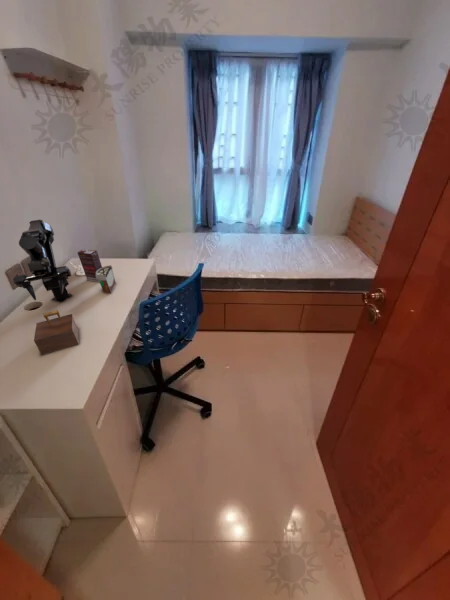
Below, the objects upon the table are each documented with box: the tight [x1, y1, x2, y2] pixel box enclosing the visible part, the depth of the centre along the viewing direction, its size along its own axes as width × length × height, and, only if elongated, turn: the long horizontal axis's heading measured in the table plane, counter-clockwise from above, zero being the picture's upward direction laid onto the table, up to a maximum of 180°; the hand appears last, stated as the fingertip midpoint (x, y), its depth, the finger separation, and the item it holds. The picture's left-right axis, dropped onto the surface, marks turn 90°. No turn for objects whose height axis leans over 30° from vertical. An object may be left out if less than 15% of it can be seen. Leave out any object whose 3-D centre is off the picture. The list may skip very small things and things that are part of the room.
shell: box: [69, 255, 86, 276], centre depth 153 cm, size 9×12×9 cm
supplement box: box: [76, 248, 103, 283], centre depth 144 cm, size 9×5×16 cm, turn 71°
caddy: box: [34, 317, 80, 356], centre depth 105 cm, size 10×12×6 cm
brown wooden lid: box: [33, 309, 74, 343], centre depth 103 cm, size 11×12×5 cm
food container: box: [96, 264, 117, 294], centre depth 136 cm, size 12×6×10 cm, turn 5°
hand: (48, 296), depth 108 cm, fingers open, 9 cm apart
